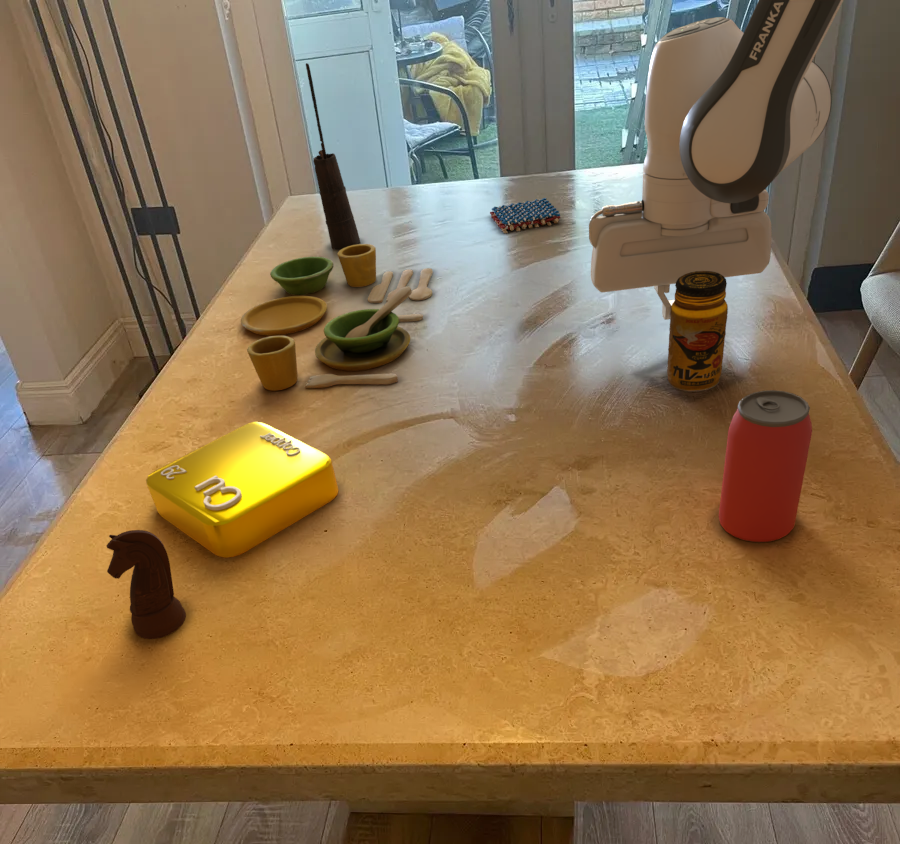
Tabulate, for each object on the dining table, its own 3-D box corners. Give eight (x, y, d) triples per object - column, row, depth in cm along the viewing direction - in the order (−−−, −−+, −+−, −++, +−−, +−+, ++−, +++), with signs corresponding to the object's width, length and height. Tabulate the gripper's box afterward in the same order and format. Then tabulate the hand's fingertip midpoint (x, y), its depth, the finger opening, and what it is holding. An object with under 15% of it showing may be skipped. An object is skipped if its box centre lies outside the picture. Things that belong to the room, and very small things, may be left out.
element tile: (347, 494, 88) (338, 454, 85) (227, 565, 81) (212, 525, 78) (266, 450, 97) (255, 413, 94) (151, 511, 90) (135, 473, 87)
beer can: (763, 496, 80) (781, 379, 72) (810, 532, 75) (835, 411, 68) (703, 516, 79) (715, 400, 71) (747, 555, 74) (764, 434, 66)
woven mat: (488, 218, 152) (487, 206, 150) (545, 208, 152) (545, 196, 151) (501, 235, 144) (500, 223, 142) (562, 225, 145) (561, 212, 143)
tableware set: (399, 391, 105) (391, 342, 101) (189, 400, 109) (174, 354, 105) (442, 268, 135) (437, 227, 131) (277, 280, 140) (267, 240, 136)
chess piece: (130, 619, 77) (88, 530, 70) (185, 598, 78) (147, 509, 72) (141, 648, 74) (98, 558, 67) (198, 625, 75) (160, 535, 69)
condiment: (691, 402, 95) (699, 296, 87) (640, 376, 101) (644, 275, 93) (738, 380, 97) (751, 276, 89) (686, 357, 103) (694, 257, 95)
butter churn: (321, 238, 154) (284, 58, 135) (373, 233, 153) (343, 51, 134) (313, 256, 147) (273, 69, 129) (367, 250, 146) (334, 61, 128)
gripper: (593, 216, 92) (593, 338, 101) (784, 192, 91) (767, 317, 100) (584, 199, 97) (585, 316, 106) (766, 176, 96) (751, 296, 105)
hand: (675, 316), depth 103 cm, fingers closed
